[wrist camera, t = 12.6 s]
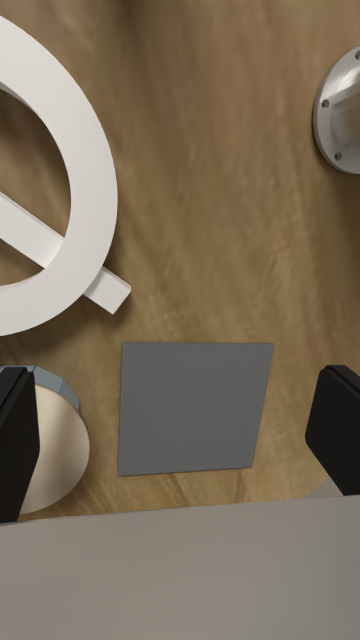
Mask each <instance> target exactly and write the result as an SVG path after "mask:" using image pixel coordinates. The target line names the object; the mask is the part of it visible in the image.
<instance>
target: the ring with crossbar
mask: <svg viewBox="0 0 360 640" xmlns="http://www.w3.org/2000/svg"><path fill="white" fill-rule="evenodd" d="M0 89H1V90H3V91H5V92H7V93H9V94H11V95H12V96H14V97H15V98H17V99H18V100H20V101H21V102H23V103H24V104H25V105H26V106H28V107H29V108H30V109H31V110H32V111H34V112H35V113H36V114H37V115H38V116H39V117H40V118H41V119H42V121H43V122H44V124H45V125H46V126H47V128H48V129H49V131H50V133H51V134H52V136H53V138H54V139H55V141H56V143H57V145H58V147H59V149H60V152H61V154H62V157H63V159H64V162H65V165H66V168H67V172H68V176H69V182H70V189H71V214H70V220H69V225H68V229H67V232H66V236H65V238H64V237H62V236H61V235H59V234H58V233H57V232H55V231H54V230H52V229H51V228H50V227H48V226H47V225H46V224H44V223H43V222H41V221H40V220H39V219H37V218H36V217H35V216H33V215H32V214H30V213H29V212H28V211H26V210H25V209H24V208H22V207H21V206H19V205H18V204H17V203H15V202H14V201H13V200H11V199H10V198H8V197H7V196H6V195H4V194H3V193H2V192H0V238H1V239H2V240H4V241H5V242H7V243H8V244H10V245H11V246H13V247H14V248H16V249H17V250H19V251H20V252H22V253H23V254H24V255H26V256H27V257H29V258H30V259H32V260H33V261H35V262H36V263H38V264H39V265H41V266H42V267H44V268H45V269H43V270H42V271H41V272H39V273H37V274H36V275H34V276H32V277H30V278H28V279H26V280H23V281H21V282H18V283H14V284H10V285H5V286H0V336H3V335H8V334H13V333H17V332H20V331H24V330H27V329H30V328H32V327H35V326H37V325H39V324H42V323H44V322H46V321H48V320H49V319H51V318H53V317H55V316H56V315H58V314H59V313H61V312H62V311H64V310H65V309H66V308H68V307H69V306H70V305H71V304H72V303H74V302H75V301H76V300H77V299H78V298H79V297H80V296H81V295H82V294H84V295H85V296H87V297H88V298H90V299H91V300H93V301H94V302H95V303H97V304H98V305H100V306H101V307H103V308H104V309H106V310H107V311H109V312H110V313H112V314H114V313H115V311H116V310H117V309H118V307H119V306H120V305H121V303H122V302H123V301H124V300H125V298H126V297H127V296H128V294H129V293H130V292H131V286H130V285H129V284H127V283H126V282H124V281H123V280H122V279H120V278H119V277H118V276H116V275H115V274H113V273H112V272H111V271H109V270H108V269H107V268H105V267H104V266H102V265H103V263H104V261H105V258H106V256H107V254H108V251H109V248H110V245H111V242H112V238H113V235H114V230H115V224H116V217H117V182H116V175H115V169H114V164H113V159H112V155H111V152H110V148H109V145H108V142H107V139H106V136H105V134H104V131H103V129H102V126H101V124H100V122H99V120H98V118H97V116H96V114H95V112H94V110H93V108H92V107H91V105H90V103H89V101H88V100H87V98H86V97H85V95H84V93H83V92H82V90H81V89H80V88H79V86H78V85H77V83H76V82H75V81H74V79H73V78H72V77H71V76H70V74H69V73H68V72H67V71H66V69H65V68H64V67H63V66H62V65H61V64H60V63H59V62H58V61H57V59H56V58H55V57H54V56H52V55H51V54H50V53H49V52H48V51H47V50H46V49H45V48H44V47H43V46H42V45H41V44H39V43H38V42H37V41H36V40H35V39H34V38H32V37H31V36H30V35H28V34H27V33H26V32H24V31H23V30H22V29H20V28H19V27H17V26H16V25H14V24H13V23H11V22H10V21H8V20H6V19H5V18H3V17H1V16H0Z"/></svg>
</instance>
